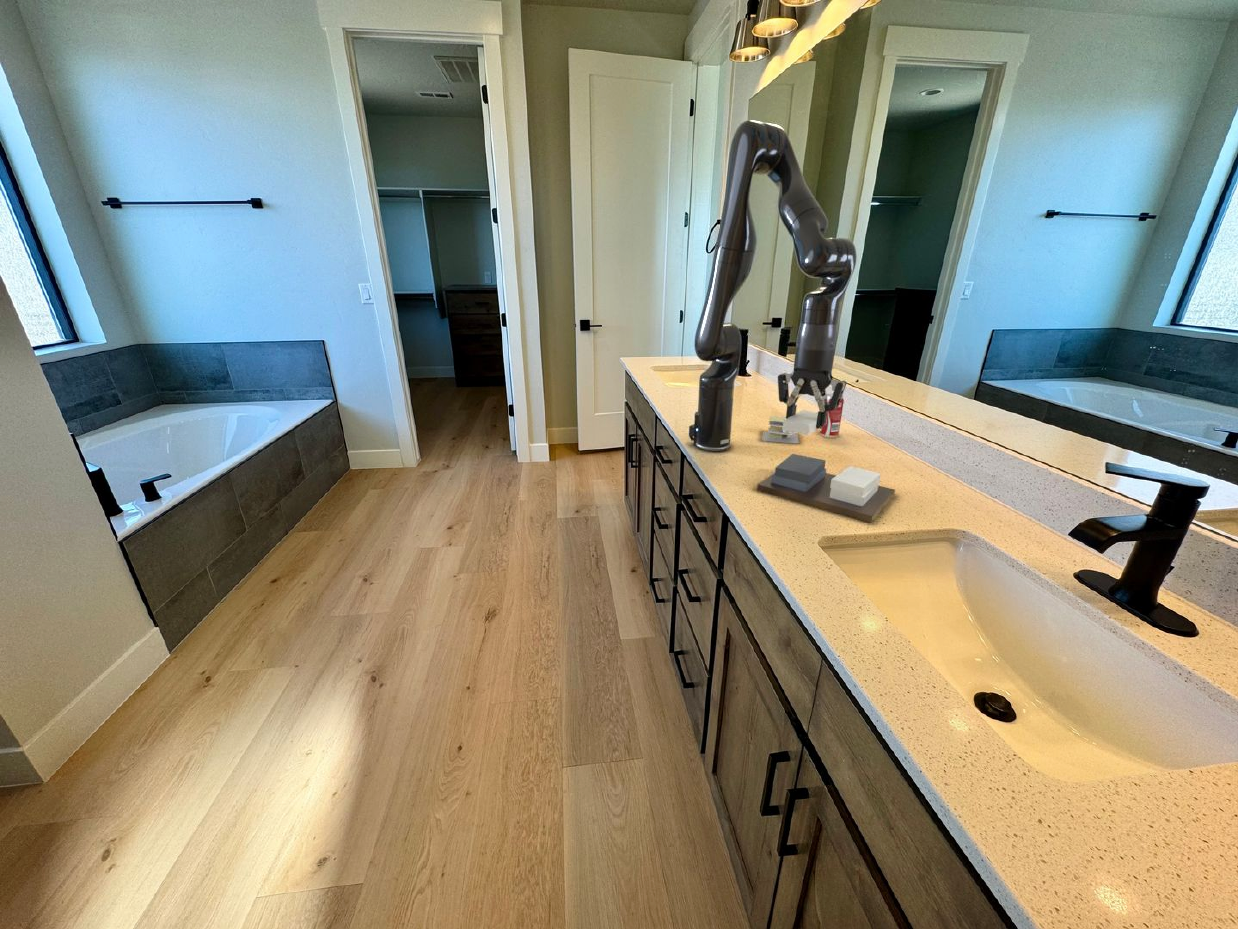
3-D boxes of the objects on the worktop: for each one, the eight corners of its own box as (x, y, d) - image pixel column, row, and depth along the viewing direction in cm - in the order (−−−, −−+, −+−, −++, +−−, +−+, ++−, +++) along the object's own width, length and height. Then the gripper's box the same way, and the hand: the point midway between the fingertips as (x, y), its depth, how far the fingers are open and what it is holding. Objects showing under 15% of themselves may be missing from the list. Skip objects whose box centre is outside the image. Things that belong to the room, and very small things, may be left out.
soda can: (817, 432, 148) (822, 392, 143) (835, 432, 147) (841, 393, 142) (821, 437, 143) (827, 397, 138) (840, 438, 142) (846, 397, 138)
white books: (828, 497, 102) (830, 479, 101) (844, 482, 109) (847, 465, 108) (862, 506, 98) (866, 488, 97) (878, 490, 105) (881, 473, 104)
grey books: (770, 483, 110) (772, 466, 108) (791, 468, 117) (793, 452, 116) (807, 493, 104) (809, 475, 103) (826, 477, 112) (829, 460, 111)
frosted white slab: (782, 429, 105) (783, 420, 104) (801, 419, 112) (802, 410, 111) (808, 435, 101) (809, 425, 100) (826, 424, 108) (827, 414, 107)
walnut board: (756, 490, 110) (757, 483, 109) (787, 469, 121) (788, 463, 120) (871, 523, 95) (872, 516, 94) (894, 495, 106) (895, 489, 105)
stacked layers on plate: (761, 440, 141) (763, 422, 139) (762, 431, 149) (764, 414, 147) (798, 443, 138) (801, 425, 136) (797, 434, 146) (799, 416, 144)
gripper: (858, 346, 98) (845, 427, 104) (789, 340, 107) (780, 415, 113) (845, 351, 93) (832, 436, 99) (774, 344, 102) (765, 422, 108)
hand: (804, 424), depth 106 cm, fingers closed on frosted white slab, 5 cm apart
